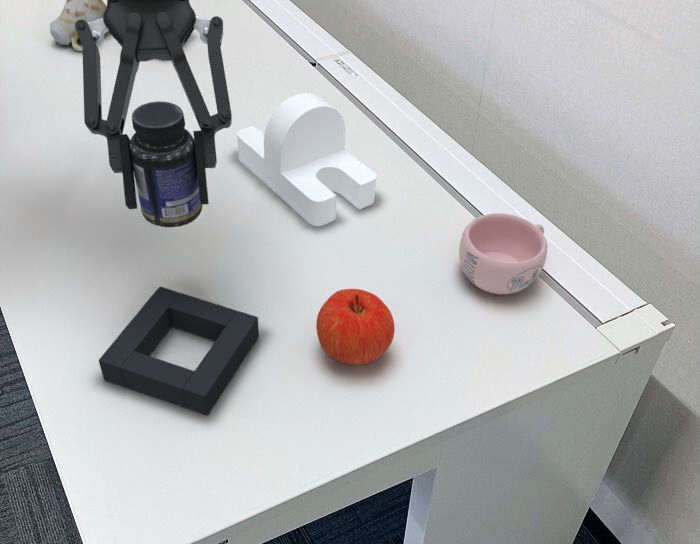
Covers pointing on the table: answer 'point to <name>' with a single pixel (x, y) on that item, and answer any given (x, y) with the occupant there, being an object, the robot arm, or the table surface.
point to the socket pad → (171, 380)
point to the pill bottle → (164, 165)
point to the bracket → (307, 159)
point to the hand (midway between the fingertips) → (168, 204)
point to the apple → (355, 326)
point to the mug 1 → (75, 20)
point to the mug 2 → (502, 252)
